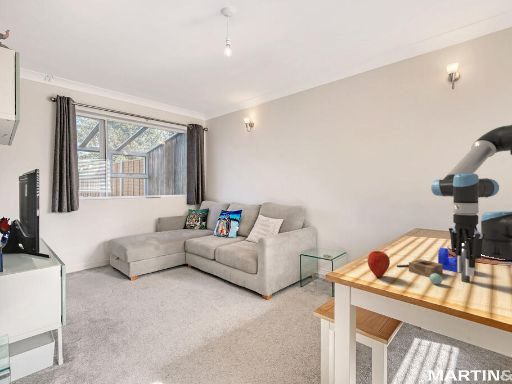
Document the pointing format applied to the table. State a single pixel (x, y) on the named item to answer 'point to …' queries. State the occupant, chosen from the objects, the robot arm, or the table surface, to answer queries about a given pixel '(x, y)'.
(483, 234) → the robot arm
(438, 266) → the square wooden ring
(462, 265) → the grey metal cylinder rod
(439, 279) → the loose teal bead
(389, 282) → the table surface
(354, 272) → the table surface
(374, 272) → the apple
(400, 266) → the thin dark grey rod
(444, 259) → the bracket
